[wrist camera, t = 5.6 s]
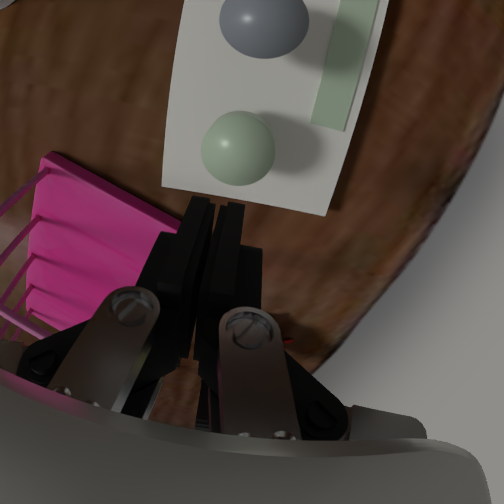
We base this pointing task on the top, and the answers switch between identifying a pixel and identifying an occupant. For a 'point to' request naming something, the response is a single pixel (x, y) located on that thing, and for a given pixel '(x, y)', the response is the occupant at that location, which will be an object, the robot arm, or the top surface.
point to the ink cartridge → (203, 410)
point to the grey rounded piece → (264, 26)
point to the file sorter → (78, 245)
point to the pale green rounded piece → (238, 148)
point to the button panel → (273, 100)
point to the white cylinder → (5, 3)
